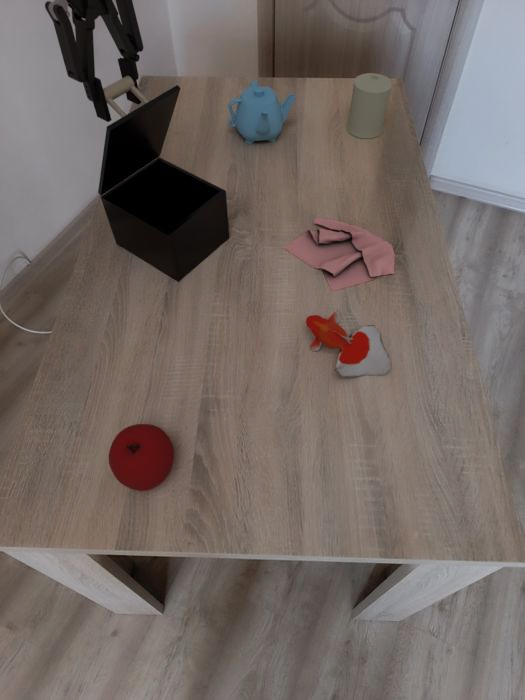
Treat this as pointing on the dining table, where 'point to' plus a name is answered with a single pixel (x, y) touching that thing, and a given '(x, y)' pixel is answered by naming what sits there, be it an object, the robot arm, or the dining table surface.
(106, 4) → the robot arm
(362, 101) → the can
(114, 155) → the lid
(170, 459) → the apple
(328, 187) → the dining table surface
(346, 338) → the fish
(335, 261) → the cloth
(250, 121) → the teapot
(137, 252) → the box
